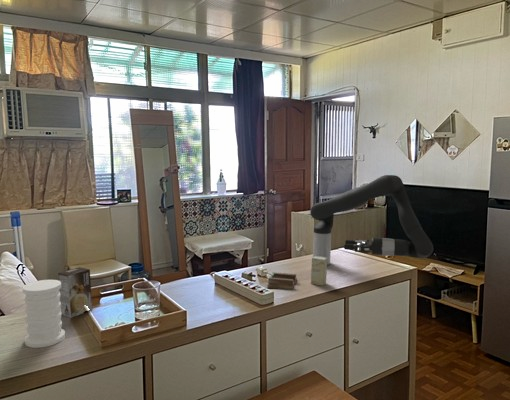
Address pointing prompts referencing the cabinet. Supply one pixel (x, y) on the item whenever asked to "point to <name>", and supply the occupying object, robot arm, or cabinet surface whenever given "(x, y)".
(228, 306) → the cabinet surface
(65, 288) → the coffee box
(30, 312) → the decorative container
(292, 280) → the rack
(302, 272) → the cabinet surface
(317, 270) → the skincare box
